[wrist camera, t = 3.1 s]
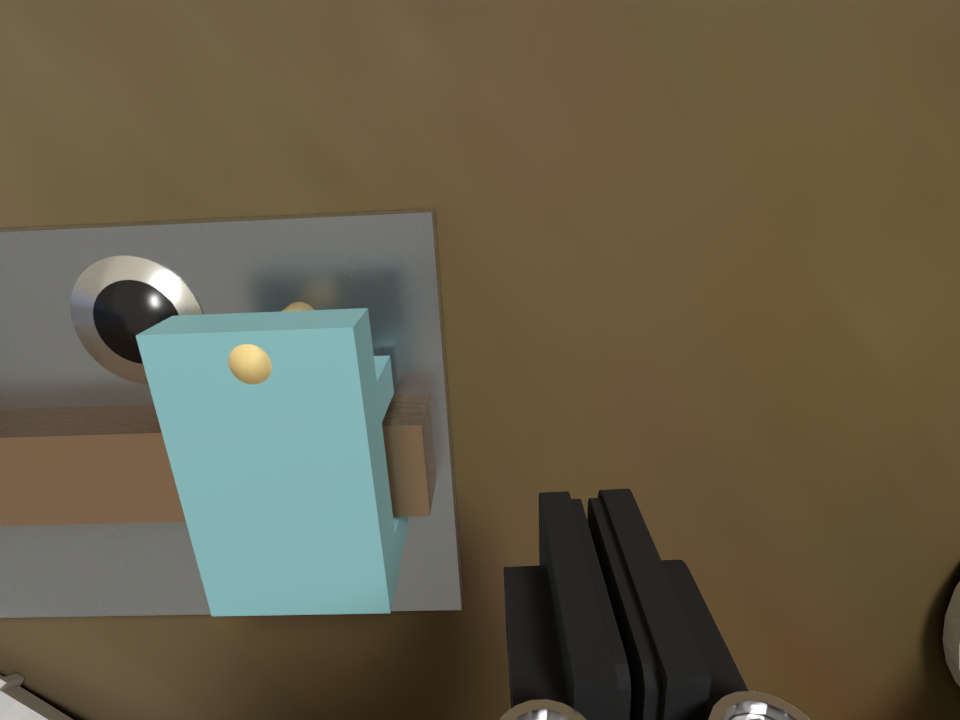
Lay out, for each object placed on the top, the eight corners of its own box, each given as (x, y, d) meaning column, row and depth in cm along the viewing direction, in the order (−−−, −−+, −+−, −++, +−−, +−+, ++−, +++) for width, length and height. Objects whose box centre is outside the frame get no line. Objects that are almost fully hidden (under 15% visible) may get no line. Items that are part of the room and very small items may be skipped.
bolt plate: (435, 208, 17) (411, 233, 12) (463, 589, 22) (453, 712, 17) (-338, 244, 18) (-635, 280, 13) (-144, 601, 23) (-310, 720, 18)
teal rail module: (383, 288, 16) (353, 327, 13) (409, 528, 19) (390, 613, 16) (210, 295, 17) (135, 335, 13) (262, 531, 19) (211, 616, 16)
